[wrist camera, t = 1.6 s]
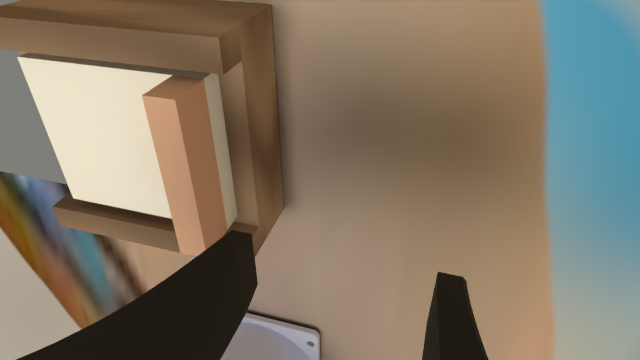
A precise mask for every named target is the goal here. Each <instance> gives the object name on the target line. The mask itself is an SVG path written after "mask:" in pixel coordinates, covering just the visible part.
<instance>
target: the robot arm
mask: <svg viewBox="0 0 640 360" xmlns="http://www.w3.org/2000/svg"><path fill="white" fill-rule="evenodd" d="M257 284H258V283H257V274H256V266H255V257H254V249H253V240H252V234H250V233H245V232H240V231H235V230H231V231H230V232H229V233H227V234H226V235H224V236H223V237H222V238H220V239H219V240H218V241H216V242H215V243H214V244H213V245H211V246H210V247H209V248H207V249H206V250H205V251H203V252H202V253H201V254H199V255H198V256H197V257H196V258H194V259H193V260H192V261H190V262H189V263H187V264H186V265H185V266H183V267H182V268H181V269H179V270H178V271H177V272H175V273H174V274H172V275H171V276H170V277H168V278H167V279H165V280H164V281H163V282H161V283H160V284H158V285H157V286H155V287H154V288H152V289H151V290H149V291H148V292H146V293H145V294H143V295H142V296H140V297H139V298H137V299H136V300H134V301H132V302H131V303H129V304H127V305H126V306H124V307H122V308H121V309H119V310H117V311H116V312H114V313H112V314H110V315H108V316H107V317H105V318H103V319H101V320H100V321H98V322H96V323H94V324H92V325H90V326H88V327H86V328H84V329H82V330H80V331H78V332H76V333H74V334H72V335H70V336H68V337H66V338H64V339H62V340H60V341H58V342H56V343H54V344H52V345H49V346H47V347H45V348H42V349H40V350H38V351H36V352H33V353H31V354H29V355H26V356H24V357H22V358H19V359H17V360H320V335H319V333H318V332H317V331H315V330H313V329H309V328H305V327H301V326H297V325H293V324H289V323H285V322H281V321H277V320H273V319H269V318H265V317H262V316H258V315H254V314H250V313H246V312H247V309H248V307H249V305H250V302H251V300H252V297H253V295H254V292H255V290H256V287H257ZM422 360H488V357H487V354H486V352H485V349H484V346H483V343H482V340H481V337H480V335H479V331H478V328H477V325H476V322H475V318H474V315H473V311H472V307H471V303H470V299H469V294H468V289H467V283H466V280H465V279H464V278H463V277H461V276H456V275H451V274H446V273H441V272H438V274H437V279H436V283H435V288H434V293H433V297H432V302H431V307H430V312H429V316H428V321H427V327H426V334H425V342H424V349H423V357H422Z"/></svg>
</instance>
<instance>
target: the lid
mask: <svg viewBox="0 0 640 360" xmlns="http://www.w3.org/2000/svg"><path fill="white" fill-rule="evenodd" d="M17 58H18V61H19V63H20V66H21V68H22V71H23V73H24V76H25V78H26V81H27V83H28V86H29V88H30V91H31V93H32V96H33V98H34V101H35V103H36V106H37V108H38V111H39V113H40V116H41V118H42V121H43V123H44V126H45V129H46V131H47V134H48V136H49V139H50V141H51V144H52V146H53V149H54V151H55V154H56V156H57V159H58V161H59V164H60V166H61V169H62V171H63V174H64V176H65V179H66V181H67V184H68V186H69V189H70V191H71V194H72V197H73V198H74V199H79V200H83V201H88V202H93V203H98V204H103V205H108V206H113V207H118V208H122V209H127V210H132V211H137V212H142V213H147V214H152V215H157V216H161V217H166V218H171V219H172V221H173V225H174V229H175V233H176V237H177V241H178V245H179V249H180V253H184V254H188V255H193V256H198V255H199V254H201V253H202V252H203V251H205V250H206V249H207V248H209V247H210V246H211V245H213V244H214V243H215V242H216V241H218V240H219V239H220V238H222V237H223V236H224V234H225V233H226V232H227V230H228V229H229V227H230V226H231V225H232V223H233V222H234V220H235V219H236V217H237V216H238V215H237V208H236V200H235V193H234V186H233V179H232V171H231V164H230V157H229V149H228V142H227V135H226V128H225V120H224V113H223V106H222V98H221V91H220V84H219V77H218V74H212V73H203V72H195V71H186V70H177V69H168V68H160V67H151V66H142V65H133V64H125V63H116V62H107V61H99V60H90V59H81V58H72V57H64V56H55V55H46V54H37V53H29V52H28V53H25V54H23V55H20V56H18V57H17Z"/></svg>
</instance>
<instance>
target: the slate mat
mask: <svg viewBox="0 0 640 360" xmlns="http://www.w3.org/2000/svg"><path fill="white" fill-rule="evenodd" d="M16 1H20V0H0V6H1V5H5V4H9V3H12V2H16ZM20 55H21V54H20V51H11V50H3V49H0V171H2V172H7V173H13V174H18V175H23V176H28V177H33V178H38V179H43V180H48V181H53V182H58V183H63V184H67V181H66V179H65V176H64V174H63V171H62V169H61V166H60V164H59V161H58V159H57V156H56V154H55V151H54V149H53V146H52V144H51V141H50V139H49V136H48V134H47V131H46V129H45V126H44V123H43V121H42V118H41V116H40V113H39V111H38V108H37V106H36V103H35V101H34V98H33V96H32V93H31V91H30V88H29V86H28V83H27V81H26V78H25V76H24V73H23V71H22V68H21V66H20V63H19V61H18V58H17V57H18V56H20Z"/></svg>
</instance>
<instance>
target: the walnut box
mask: <svg viewBox="0 0 640 360" xmlns="http://www.w3.org/2000/svg"><path fill="white" fill-rule="evenodd" d="M0 49H3V50H11V51H20V54H21V55H23V54H25V53H28V52H29V53H37V54H46V55H55V56H64V57H72V58H81V59H90V60H99V61H107V62H116V63H125V64H133V65H142V66H151V67H160V68H168V69H177V70H186V71H195V72H203V73H212V74H218V77H219V84H220V91H221V98H222V106H223V113H224V120H225V128H226V135H227V142H228V149H229V157H230V164H231V171H232V179H233V186H234V193H235V200H236V208H237V215H238V216H237V217H236V219H235V220H234V222H233V223H232V225H231V226H230V227H229V229H228V230H227V232H226V233H225V234H224V235H226V234H227V233H229V232H230V231H231V230H235V231H240V232H245V233H250V234H252V240H253V249H254V257H255V256H256V255H257V253H258V251H259V249H260V248H261V246H262V244H263V243H264V241H265V239H266V238H267V236H268V234H269V232H270V231H271V229H272V227H273V226H274V224H275V222H276V221H277V219H278V217H279V215H280V214H281V212H282V210H283V209H284V204H283V187H282V171H281V154H280V138H279V121H278V105H277V88H276V71H275V55H274V38H273V22H272V5H267V4H253V3H239V2H225V1H211V0H20V1H16V2H12V3H9V4H5V5H1V6H0ZM52 207H53V209H54V211H55V214H56V216H57V218H58V220H59V223H60V225H61V226H64V227H68V228H73V229H77V230H82V231H86V232H91V233H95V234H100V235H104V236H109V237H113V238H118V239H122V240H126V241H131V242H135V243H140V244H144V245H149V246H153V247H158V248H162V249H167V250H171V251H175V252H180V249H179V245H178V241H177V237H176V233H175V229H174V225H173V221H172V219H171V218H166V217H161V216H157V215H152V214H147V213H142V212H137V211H132V210H127V209H122V208H118V207H113V206H108V205H103V204H98V203H93V202H88V201H83V200H79V199H74V198H73V197H72V194H71V192H70V193H69V194H68V195H67V196H65V197H64V198H63V199H61V200H60V201H59V202H57V203H56V204H55V205H54V206H52Z"/></svg>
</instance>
